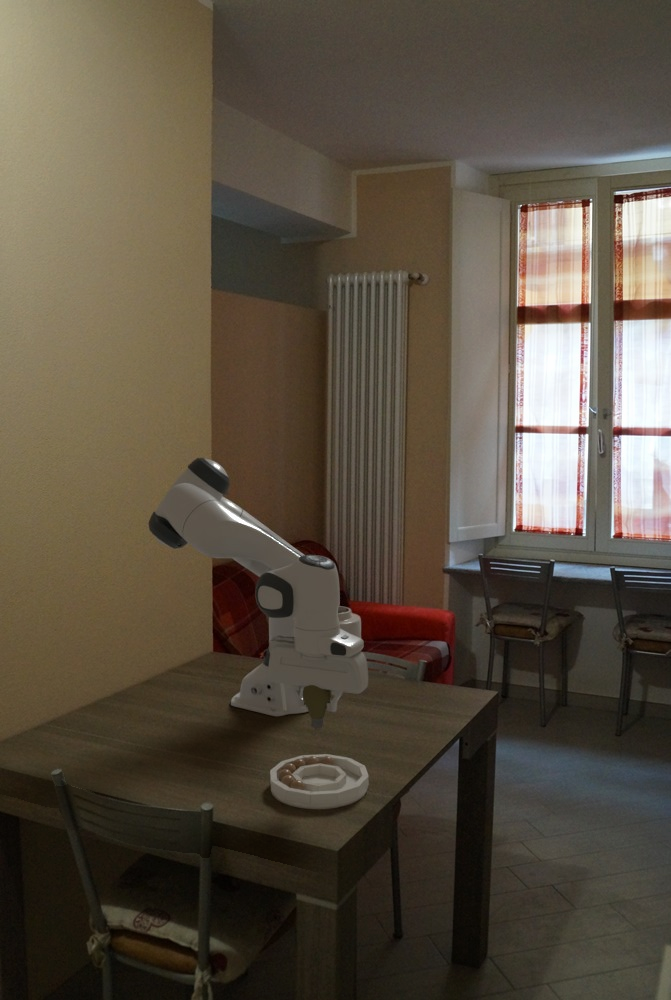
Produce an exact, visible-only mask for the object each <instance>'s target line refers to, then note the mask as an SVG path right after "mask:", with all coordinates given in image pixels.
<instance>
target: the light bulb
mask: <svg viewBox="0 0 671 1000" xmlns="http://www.w3.org/2000/svg"><path fill="white" fill-rule="evenodd" d="M331 699H332V690H326V689H321V688H319V687H317V686H314V685H309V686H306V687H304V689H303V700H304V702H305V704H306V706H307V708H308V714H309V716H310V719H311V723H310V724H311V725H310V726H311V728H313V729H314V730H315V731H319V730H322V728H324V726H325V725H324V724H325V723H324V720H325V719H324V717H325V716H326V711H327V703H328V702H329V701H330V700H331Z"/></svg>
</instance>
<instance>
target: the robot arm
mask: <svg viewBox="0 0 671 1000" xmlns="http://www.w3.org/2000/svg"><path fill="white" fill-rule="evenodd" d="M230 480H231V479H230V476H229V475H228V473H227V471H226V470H225V469H224V467H223V466H222V465H220V464H219V463H218V462H217V461H215V460H212V459H208V458H205V457H197V458H195V459H194V460H193V461H191V463H189V464H188V465H187V468H186V469H185V470H184V471H183V472H182V473H181V474H180V475H179V476H178V477H177V479H175V481H174V482H173V483H172V485H170V486H169V489H168V491H167V492H166V493H165V495H164V497H163V498H162V499H161V501H160V503H159V504H158V506H157V507H156V509H155V511H153V512H152V513H151V516H150V518H149V519H148V528H149V529H148V530H149V531H150V533H152V536H153V537H154V538H155V540H156V541H158V542H159V544H162V545H163V546H166V547H169V548H172V549H181V548H184V547H185V546H186V545H190V547H192V548H193V550H195V551H197V552H199V553H201V554H202V555H205V556H206V557H209V558H213V559H232V560H233V561H235V562H237V563H238V564H240V565H241V566H242V567H244V568H245V569H247V570H248V571H250V572H252V573H253V574H254V575H255V576H257V577H259V578H258V579H257V581H256V584H255V590H254V593H255V594H254V595H255V596H254V597H255V602H256V605H257V607H258V608H259V610H260V611H261V612H262V613H263V615H265V616H267V617H268V637H269V638H268V648H266V649H265V650H263V652H261V653H259V655H260V656H259V658H260V659H262V658H263V661H262V663H261V664H259V665H258V666H257V667H255V668H254V669H252V671H250V672H249V673H247V675H245V676H244V677H243V679H242V681H241V684H240V690H239V692H237V693H236V694H234V695H233V697H232V698H231V701H230V705H231V706H232V707H235V708H240V709H244V710H248V711H252V712H256V713H260V714H265V715H268V716H272V717H282V716H286V715H294V714H303V713H307V712H308V713H309V711H308V708H307V706H306V704H305V702H304V700H303V689H304V687H306V686H309V685H314V686H317V687H319V688H321V689H326V690H331V696H333V698H332V700H331V699H330V701H329V702H328V703H327V708H326V711H327V712H330V713H336V712H337V710H338V701H339V700H340V699H341V696H342V695H343V693H349V694H359V695H360V694H361V693H362V692H363V691H365V690H366V689H367V687H369V669H368V661H367V658H366V655H365V654H364V652H362V650H363V648H364V645H365V644H364V643H365V642H364V640H363V639H362V637H361V638H359V637H357V636H354V635H352V634H350V633H348V632H346V631H344V630H342V629H340V622H339V618H338V608H339V606H340V603H341V602H340V601H341V600H340V599H341V597H340V595H341V593H340V590H341V589H340V577H339V572H338V568H337V566H336V563H335V562H334V561H333V560H332V559H330V558H329V557H326V556H324V555H319V554H318V555H315V554H304V553H303V552H301V551H300V550H298V549H297V548H296V547H294V546H293V545H291V544H290V543H289V542H287V540H285V539H283V537H281V536H280V535H278V534H277V533H275V532H274V531H273V530H271V529H270V528H269V527H268V526H266V525H265V524H263V523H262V522H260V521H259V520H258V519H257V518H256V517H254V516H253V515H251V514H250V513H248V511H246V510H245V509H243V508H242V507H241V506H239V505H238V504H236V503H234V502H233V501H231V500H230V499H228V498H226V497H224V496H227V495H229V491H228V490H229V489H230V485H231V481H230Z"/></svg>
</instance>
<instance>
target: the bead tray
mask: <svg viewBox="0 0 671 1000" xmlns="http://www.w3.org/2000/svg"><path fill="white" fill-rule="evenodd" d="M269 777H270V778H269V780H270V792H271V795H272V796H273V797H274V798H275V799H276V800H277V801H279V802H281V803H282V804H285V805H287V806H290V807H295V808H300V809H304V810H305V809H307V810H308V809H309V810H330V809H337V808H341V807H342V808H343V807H345V806H349V805H352V804H353V803H356V802H358V801H359V800H361V799H362V798H363V797H364V796H365V795H366V794H367V792H368V787H369V785H370V783H369V781H370V780H369V779H370V778H369V777H370V776H369V773H368V771H367V768H366V765H364V764H362V763H360V762H359V761H357V760H355V759H353V758H350V757H346V756H342V755H333V754H329V753H328V754H327V753H324V754H304V755H298V756H295V757H292V758H288V759H285V760H284V759H283V760H281V761H280V762H279V763H278V764H276V765H275V766H274V767H273V768H271V769H270V770H269Z"/></svg>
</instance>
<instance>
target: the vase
mask: <svg viewBox="0 0 671 1000" xmlns="http://www.w3.org/2000/svg"><path fill="white" fill-rule="evenodd" d="M338 618H339V622H340V629H342V630H344V631H346V632H348V633H350V634H352V635H354V636H357V637H359V638H361V639H362V619H361V616H360V615H358V614H356V613H353V612H352V608H350V607H347V606H341V605H339V608H338Z"/></svg>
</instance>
